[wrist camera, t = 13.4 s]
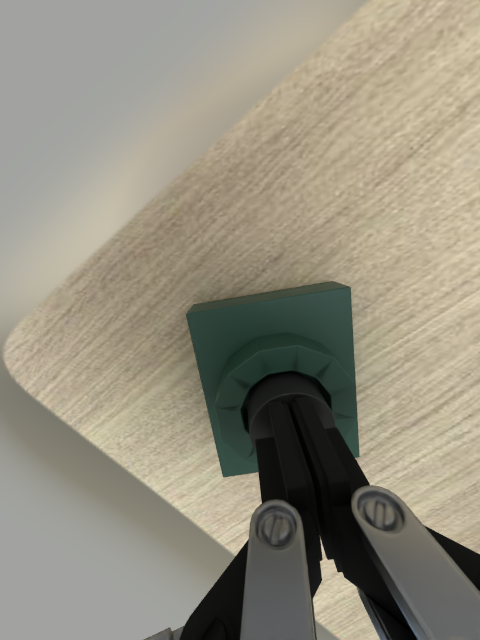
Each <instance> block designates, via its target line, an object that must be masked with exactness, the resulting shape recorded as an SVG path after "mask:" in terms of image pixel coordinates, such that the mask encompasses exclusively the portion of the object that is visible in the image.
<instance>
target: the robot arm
mask: <svg viewBox="0 0 480 640" xmlns="http://www.w3.org/2000/svg"><path fill="white" fill-rule="evenodd" d="M268 406H269V413H270V419H271V426H272V432H273V437H267V438H260V439H255V443H256V453H257V462H258V471H259V481H260V490H261V499H262V504H261V505H260V506H259V507H258V508H257V509H256V510H255V512H254V513H253V515H252V518H251V522H250V530H249V540H248V541H247V542H246V544H245V545H244V546H243V548H242V549H241V550H240V551H239V553H238V554H237V555H236V557H235V558H234V559H233V561H232V562H231V563H230V565H229V566H228V567H227V569H226V570H225V571H224V573H223V574H222V575H221V577H220V578H219V579H218V580H217V582H216V583H215V584H214V586H213V587H212V588H211V590H210V591H209V592H208V593H207V595H206V596H205V597H204V599H203V600H202V601H201V603H200V604H199V605H198V607H197V608H196V609H195V611H194V612H193V613H192V615H191V616H190V617H189V619H188V621H187V622H186V624H185V626H183V627H181V628H179V629H177V630H174V631H171V628H168V629H165V630H163V631H161V632H159V633H157V634H155V635H152V636H151V637H148V638H146V639H144V640H317V633H316V624H315V615H314V605H313V597H314V595H315V593H316V591H317V589H318V587H319V585H320V583H321V581H322V577H321V568H320V561H322V552H321V543H320V537H321V540H322V544H323V547H324V551H325V554H326V557H327V559H328V560H330V559H334V562H335V565H336V568H337V571H338V572H343V575H344V577H345V578H346V579H347V580H349V581H350V582H351V583H353V584H354V585H355V586H357V590H358V593H359V596H360V598H361V600H362V602H363V604H364V607H365V609H366V611H367V613H368V615H369V617H370V619H371V621H372V623H373V625H374V627H375V629H376V631H377V634H378V636H379V638H380V640H480V554H478V553H476V552H474V551H472V550H470V549H468V548H466V547H464V546H462V545H460V544H459V543H457V542H455V541H453V540H451V539H449V538H447V537H445V536H443V535H441V534H439V533H437V532H435V531H434V530H432V529H430V528H428V527H426V526H424V525H423V524H422V523H421V522H420V520H419V519H418V518H417V517H416V516H415V515H414V513H413V512H412V511H411V510H410V509H409V507H408V506H407V505H406V504H405V503H404V502H403V501H402V500H401V499H400V498H399V497H398V496H397V495H396V494H394V493H393V492H391V491H389V490H388V489H385V488H382V487H379V486H372V485H370V484H369V482H368V480H367V479H366V477H365V475H364V473H363V472H362V470H361V468H360V466H359V465H358V463H357V461H356V459H355V458H354V456H353V454H352V452H351V451H350V449H349V447H348V445H347V444H346V442H345V440H344V438H343V437H342V435H341V433H340V431H339V430H338V428H336V427H332V428H326V429H324V427H323V425H322V423H321V421H320V419H319V417H318V415H317V413H316V411H315V409H314V407H313V405H312V402H311V400H310V398H309V397H301V398H295V402H293V403H291V412H292V417H291V415H290V412H289V409H288V406H287V404H282V402H281V401H276V402H269V403H268Z"/></svg>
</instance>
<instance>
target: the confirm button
mask: <svg viewBox="0 0 480 640" xmlns="http://www.w3.org/2000/svg"><path fill="white" fill-rule="evenodd" d="M301 397H309V398H310V400H311V402H312V405H313V407H314V409H315V411H316V413H317V415H318V417H319V419H320V421H321V423H322V425H323V427H324V429H326V428H332V427H336V423H335V418H334V415H333V413H332V411H331V409H330V408H329V406H328V404H327V402H326V401H325V399H324V397H323V396H322V394H321V392H320V391H319V389H318V388H317V386H316V385H315V384H314V383H313V382H312V381H310V380H309V379H307V378H306V377H303V376H301V375H297V374H292V373H283V374H277V375H274V376H271V377H269V378H267V379H265V380H264V381H262V382H261V383H260V384H258V386H257V387H256V388H255V389H254V390H253V392H252V394H251V395H250V398H249V401H248V421H249V434H250V440H251V443H252V445H253V447H254V449H255V450H256V443H255V439H260V438H267V437H273V432H272V426H271V419H270V413H269V406H268V403H269V402H276V401H281V402H282V404H287V406H288V409H289V412H290V415H291V417H292V412H291V403H293V402H295V398H301Z"/></svg>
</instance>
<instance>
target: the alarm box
mask: <svg viewBox="0 0 480 640" xmlns="http://www.w3.org/2000/svg"><path fill="white" fill-rule="evenodd" d="M186 316H187V321H188V325H189V329H190V334H191V338H192V343H193V347H194V351H195V356H196V360H197V365H198V369H199V373H200V378H201V382H202V387H203V391H204V395H205V400H206V404H207V409H208V413H209V417H210V422H211V426H212V431H213V435H214V439H215V444H216V448H217V453H218V457H219V461H220V466H221V470H222V475H223V477H229V476H236V475H242V474H249V473H256V472H259V471H258V462H257V453H256V450H255V449H254V447H253V445H252V443H251V440H250V434H249V421H248V401H249V398H250V395H251V394H252V392H253V390H254V389H255V388H256V387H257V386H258V384H260V383H261V382H262V381H264V380H265V379H267V378H269V377H271V376H274V375H277V374H283V373H292V374H297V375H301V376H303V377H306V378H307V379H309V380H310V381H312V382H313V383H314V384H315V385H316V386H317V388H318V389H319V391H320V392H321V394H322V396H323V397H324V399H325V401H326V402H327V404H328V406H329V408H330V409H331V411H332V413H333V415H334V418H335V423H336V428H338V430H339V431H340V433H341V435H342V437H343V438H344V440H345V442H346V444H347V445H348V447H349V449H350V451H351V452H352V454H353V456H354V458H358V457H359V439H358V421H357V401H356V383H355V364H354V345H353V326H352V307H351V288H350V287H349V286H346V285H343V284H340V283H337V282H334V281H332V282H326V283H320V284H314V285H308V286H302V287H296V288H290V289H284V290H278V291H272V292H266V293H260V294H254V295H248V296H242V297H236V298H230V299H224V300H218V301H212V302H206V303H200V304H194V305H193V306H192V307H191V308H190V310H189V311H188V312H187V314H186Z"/></svg>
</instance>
